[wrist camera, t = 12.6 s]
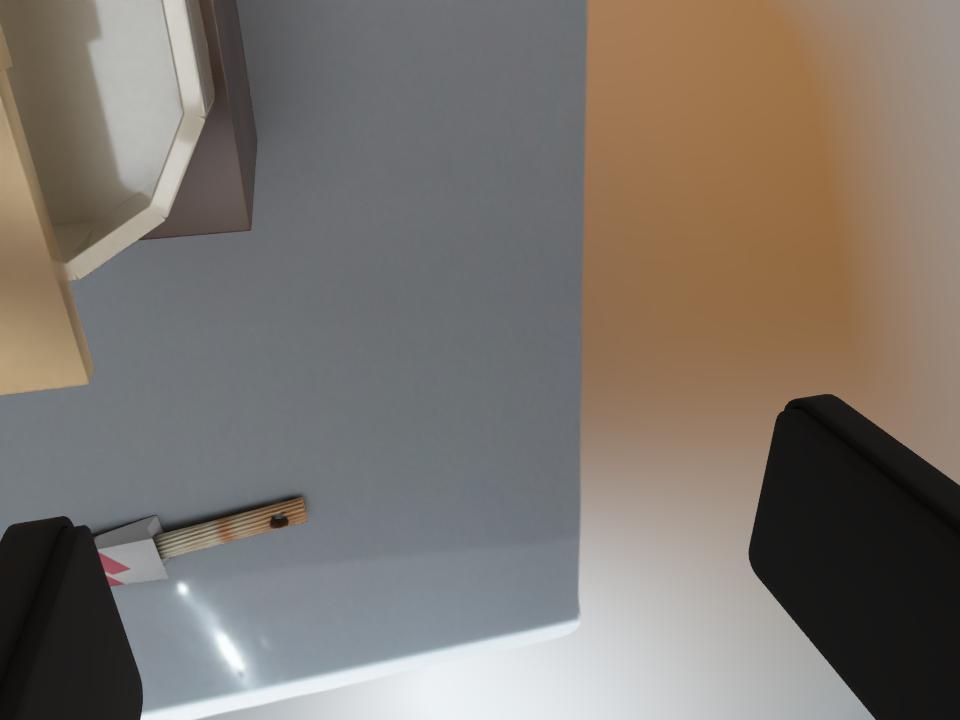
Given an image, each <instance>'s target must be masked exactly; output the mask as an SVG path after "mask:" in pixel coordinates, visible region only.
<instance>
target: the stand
mask: <svg viewBox="0 0 960 720" xmlns="http://www.w3.org/2000/svg"><path fill="white" fill-rule="evenodd" d="M199 3H200V9H201V14H202V20H203V25H204V29H205V34H206V38H207V42H208V49H209V58H210V66H211V72H212V78H213V84H214V89H215V97H214V99H215V101H214V104H213V106H212V109H211V111H210V114H209V117H208V119H207V122H206V124H205V127H204V129H203V132H202V135H201V137H200V140H199V142H198V145H197V147H196V150H195V152H194V155H193V158H192V160H191V163H190V165H189V168H188V170H187V173H186V176H185V178H184V181H183V183H182V185H181V188H180V190H179V192H178V195H177V197H176V199H175V202H174V204H173V206H172V209H171V211H170V213H169V216H168V217H167V218H166V220H165V221H164V222H163V223H161V224H160V225H158V226H157V227H156V228H154V229H153V230H151V231H150V232H148V233H147V234H145V235H144V236H143V237H141V238H140V239H138V240H147V239H159V238H170V237H182V236H194V235H205V234H217V233H229V232H240V231H250V230H251V225H252V211H253V196H254V182H255V167H256V153H257V136H256V129H255V122H254V116H253V109H252V103H251V96H250V89H249V83H248V76H247V70H246V63H245V57H244V50H243V43H242V37H241V30H240V24H239V17H238V10H237V4H236V0H199Z"/></svg>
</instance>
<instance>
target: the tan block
mask: <svg viewBox="0 0 960 720" xmlns="http://www.w3.org/2000/svg"><path fill="white" fill-rule="evenodd" d="M12 67H13V64H12V60H11V57H10V53H9V50H8V47H7V43H6V40H5V36H4V33H3V30H2V26H1V23H0V395H7V394H15V393H23V392H31V391H39V390H47V389H55V388H63V387H71V386H79V385H86V384H89V382H90V379H91V377H92V375H93V373H94V370H95V369H94V365H93V362H92V359H91V355H90V352H89V348H88V345H87V342H86V338H85V335H84V332H83V328H82V325H81V322H80V318H79V315H78V312H77V308H76V305H75V302H74V298H73V295H72V292H71V288H70V285H69V281H68V278H67V275H66V271H65V268H64V265H63V261H62V258H61V255H60V251H59V248H58V245H57V241H56V238H55V235H54V231H53V228H52V225H51V221H50V218H49V214H48V211H47V208H46V204H45V201H44V198H43V194H42V191H41V188H40V184H39V181H38V178H37V174H36V171H35V168H34V164H33V161H32V158H31V154H30V151H29V147H28V144H27V141H26V137H25V134H24V131H23V127H22V124H21V121H20V117H19V114H18V111H17V107H16V104H15V101H14V97H13V94H12V91H11V87H10V84H9V80H8V77H7V74H6V71H5V70H6V69H9V68H12Z"/></svg>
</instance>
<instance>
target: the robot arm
mask: <svg viewBox="0 0 960 720" xmlns="http://www.w3.org/2000/svg"><path fill="white" fill-rule="evenodd" d="M749 560H750V563H751V566H752V569H753V570H754V572H755V574H756V575H757V576H758V578H759V579H760V580H761V581H762V583H763V584H764V585H765V586H766V587H767V589H768V590H769V591H770V592H771V593H772V594H773V596H774V597H775V598H776V599H777V601H778V602H779V603H780V604H781V606H782V607H783V608H784V609H785V610H786V612H787V613H788V614H789V615H790V616H791V618H792V619H793V620H794V621H795V623H796V624H797V625H798V626H799V627H800V629H801V630H802V631H803V632H804V633H805V635H806V636H807V637H808V638H809V639H810V641H811V642H812V643H813V644H814V646H815V647H816V648H817V649H818V650H819V652H820V653H821V654H822V655H823V656H824V658H825V659H826V660H827V661H828V662H829V664H830V665H831V666H832V667H833V668H834V669H835V671H836V672H837V673H838V674H839V676H840V677H841V678H842V679H843V681H844V682H845V683H846V684H847V685H848V687H849V688H850V689H851V690H852V691H853V692H854V694H855V695H856V696H857V697H858V699H859V700H860V701H861V702H862V704H863V705H864V706H865V707H866V708H867V710H868V711H869V712H870V713H871V714H872V716H873V717H874V718H875V719H876V720H960V485H958V484H957V483H956V482H954V481H953V480H951V479H950V478H948V477H947V476H946V475H944V474H943V473H942V472H940V471H939V470H938V469H936V468H935V467H933V466H932V465H931V464H929V463H928V462H927V461H925V460H924V459H922V458H921V457H919V456H918V455H917V454H915V453H914V452H913V451H911V450H910V449H909V448H907V447H906V446H904V445H903V444H902V443H900V442H899V441H897V440H896V439H895V438H893V437H892V436H891V435H889V434H888V433H886V432H885V431H884V430H882V429H881V428H879V427H878V426H876V425H875V424H874V423H872V422H871V421H870V420H868V419H867V418H866V417H864V416H863V415H862V414H860V413H859V412H857V411H856V410H855V409H853V408H852V407H850V406H849V405H848V404H846V403H845V402H844V401H842V400H841V399H839V398H838V397H836V396H834V395H832V394H823V395H817V396H811V397H805V398H798V399H794V400H792V401H789V403H788V404H787V405H786V406H785V409H784V411H783V412H781V413H780V414H779V415H778V416H777V419H776V423H775V427H774V432H773V437H772V442H771V447H770V451H769V456H768V460H767V465H766V470H765V475H764V479H763V484H762V489H761V494H760V498H759V503H758V508H757V512H756V517H755V522H754V527H753V532H752V536H751V541H750V546H749ZM142 704H143V690H142V682H141V678H140V674H139V671H138V668H137V665H136V662H135V659H134V656H133V653H132V650H131V647H130V645H129V642H128V639H127V636H126V633H125V630H124V627H123V624H122V621H121V618H120V615H119V612H118V609H117V606H116V603H115V600H114V597H113V594H112V592H111V589H110V586H109V583H108V580H107V577H106V574H105V571H104V568H103V565H102V562H101V559H100V556H99V553H98V550H97V547H96V544H95V541H94V538H93V536H92V533H91V531H90V529H89V528H88V527H87V526H85V525H82V526H76V527H74V526H73V524H72V522H71V520H70V519H69V518H68V517H65V516H61V517H55V518H49V519H43V520H36V521H30V522H24V523H18V524H13V525H11V526H9V527H8V529H7V530H6V532H5V533H4V535H3V537H2V539H1V542H0V720H140V718H141V712H142Z"/></svg>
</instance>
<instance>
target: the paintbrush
mask: <svg viewBox="0 0 960 720" xmlns="http://www.w3.org/2000/svg"><path fill="white" fill-rule="evenodd" d="M278 513H282V514H281V515H284V516H285V517H283V518H281V519H274V517H272V516H273V515H275V514H278ZM306 521H308V519H307V513H306V509H305V504H304V501H303V498H297V499H293V500H290V501H286V502H282V503H278V504H274V505H271V506H267V507H263V508H259V509H255V510H252V511H248V512H244V513H240V514H236V515H233V516H229V517H225V518H221V519H217V520H214V521H210V522H206V523H202V524H198V525H195V526H191V527H187V528H183V529H179V530H175V531H171V532H167V533H163V530H162V528H161V525H160V523H159V520H158V518H157V515H155V516H152V517H149V518H146V519H143V520H141V521H138V522H135V523H132V524H129V525H127V526H124V527H121V528H118V529H115V530H113V531H110V532H107V533H104V534H101V535H99V536H96V537H93V538H94V541H95V544H96V547H97V550H98V553H99V556H100V559H101V562H102V565H103V568H104V571H105V574H106V577H107V580H108V583H109V586H115V585H123V584H130V583H138V582H145V581H153V580H161V579H168V576H167V573H166V571H165V568H164V565H165V563H166V562H167V560H168V559H169V557H173V556H177V555H181V554H185V553H189V552H192V551H196V550H200V549H203V548H207V547H211V546H215V545H218V544H222V543H226V542H229V541H233V540H237V539H241V538H244V537H248V536H252V535H256V534H260V533H264V532H268V531H272V530H276V529H280V528H283V527H287V526H291V525H295V524H299V523H303V522H306Z"/></svg>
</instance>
